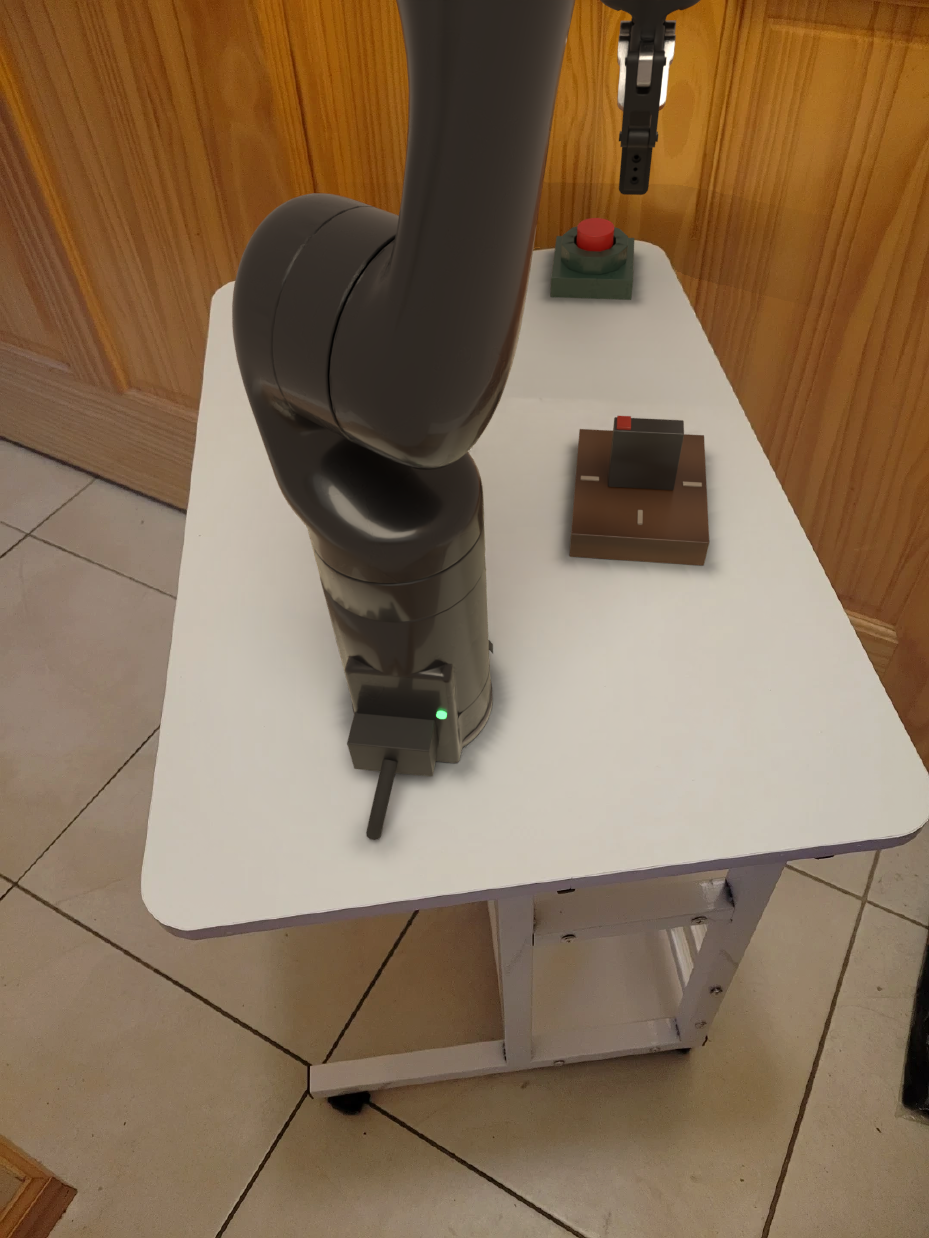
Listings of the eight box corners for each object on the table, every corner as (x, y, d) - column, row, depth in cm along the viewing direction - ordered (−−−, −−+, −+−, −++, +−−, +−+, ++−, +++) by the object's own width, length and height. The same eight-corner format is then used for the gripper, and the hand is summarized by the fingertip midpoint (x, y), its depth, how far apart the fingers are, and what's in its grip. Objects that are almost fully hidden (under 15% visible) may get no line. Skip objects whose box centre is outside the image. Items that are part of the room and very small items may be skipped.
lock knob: (673, 476, 69) (684, 417, 65) (673, 490, 68) (684, 431, 64) (608, 473, 70) (614, 414, 65) (607, 487, 69) (614, 428, 64)
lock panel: (703, 565, 67) (709, 541, 65) (569, 557, 68) (571, 532, 66) (699, 458, 74) (704, 433, 72) (577, 452, 75) (579, 427, 73)
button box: (630, 300, 89) (635, 263, 86) (550, 297, 90) (551, 260, 87) (632, 257, 94) (636, 220, 91) (555, 255, 95) (557, 219, 92)
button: (612, 254, 88) (613, 237, 86) (575, 253, 88) (576, 236, 87) (613, 235, 90) (614, 218, 89) (577, 234, 90) (578, 217, 89)
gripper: (720, -51, 53) (683, 213, 66) (716, -122, 62) (683, 124, 74) (592, -49, 54) (580, 211, 67) (606, -119, 63) (593, 123, 75)
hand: (635, 165), depth 71 cm, fingers open, 8 cm apart
